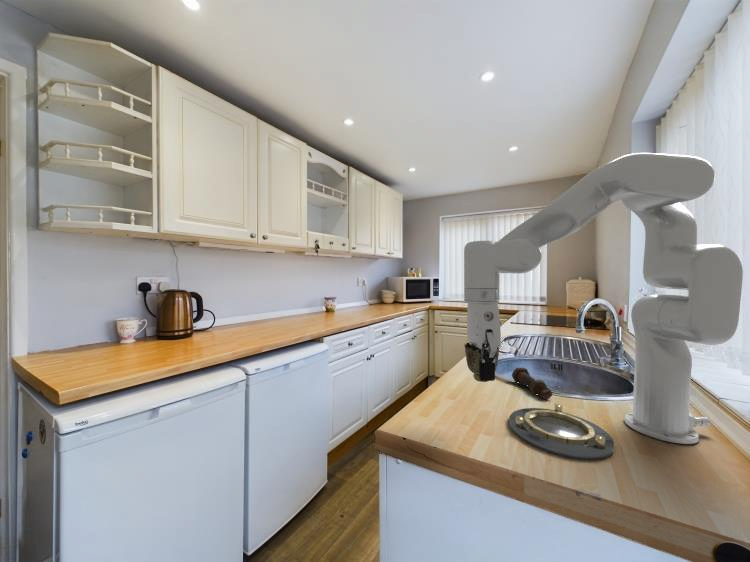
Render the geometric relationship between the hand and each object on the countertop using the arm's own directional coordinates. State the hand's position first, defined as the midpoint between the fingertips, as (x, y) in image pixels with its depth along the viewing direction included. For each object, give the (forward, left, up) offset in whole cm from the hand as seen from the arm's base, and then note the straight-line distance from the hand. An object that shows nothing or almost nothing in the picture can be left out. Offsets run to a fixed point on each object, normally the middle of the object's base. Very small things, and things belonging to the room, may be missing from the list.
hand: (481, 373), depth 69 cm
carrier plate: (-17, 0, -13) cm, 22 cm away
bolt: (-24, -25, -13) cm, 37 cm away
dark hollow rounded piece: (0, 0, -2) cm, 2 cm away
